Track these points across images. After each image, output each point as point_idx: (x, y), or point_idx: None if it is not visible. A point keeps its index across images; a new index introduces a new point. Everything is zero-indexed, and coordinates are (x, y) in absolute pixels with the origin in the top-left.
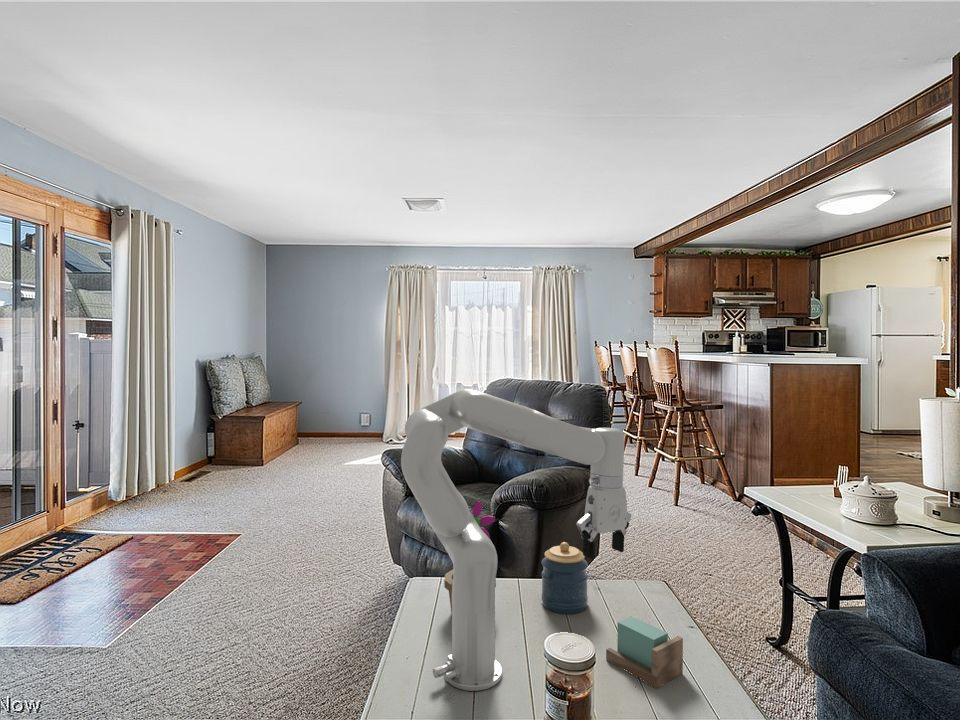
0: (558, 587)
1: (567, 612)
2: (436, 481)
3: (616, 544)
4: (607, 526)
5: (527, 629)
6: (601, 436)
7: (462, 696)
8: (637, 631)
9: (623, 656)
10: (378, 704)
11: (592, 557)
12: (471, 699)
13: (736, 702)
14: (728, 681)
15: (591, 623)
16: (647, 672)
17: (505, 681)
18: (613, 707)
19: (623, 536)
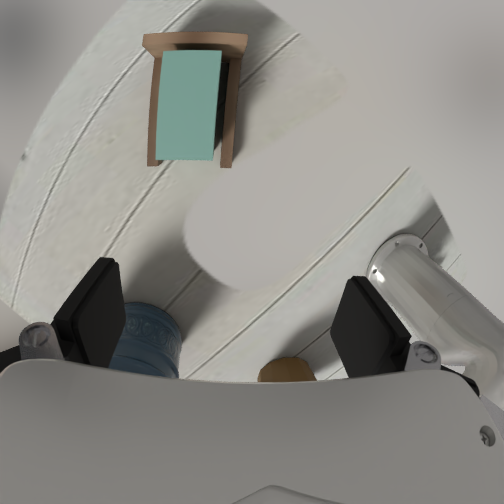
0: (169, 352)
1: (162, 311)
2: None
3: (111, 314)
4: (398, 430)
5: (256, 313)
6: None
7: (430, 242)
8: (215, 98)
9: (226, 129)
10: (462, 279)
11: (366, 281)
12: (430, 231)
13: None
14: (126, 7)
15: (148, 266)
16: (240, 67)
17: (387, 232)
18: (338, 80)
19: (64, 314)
